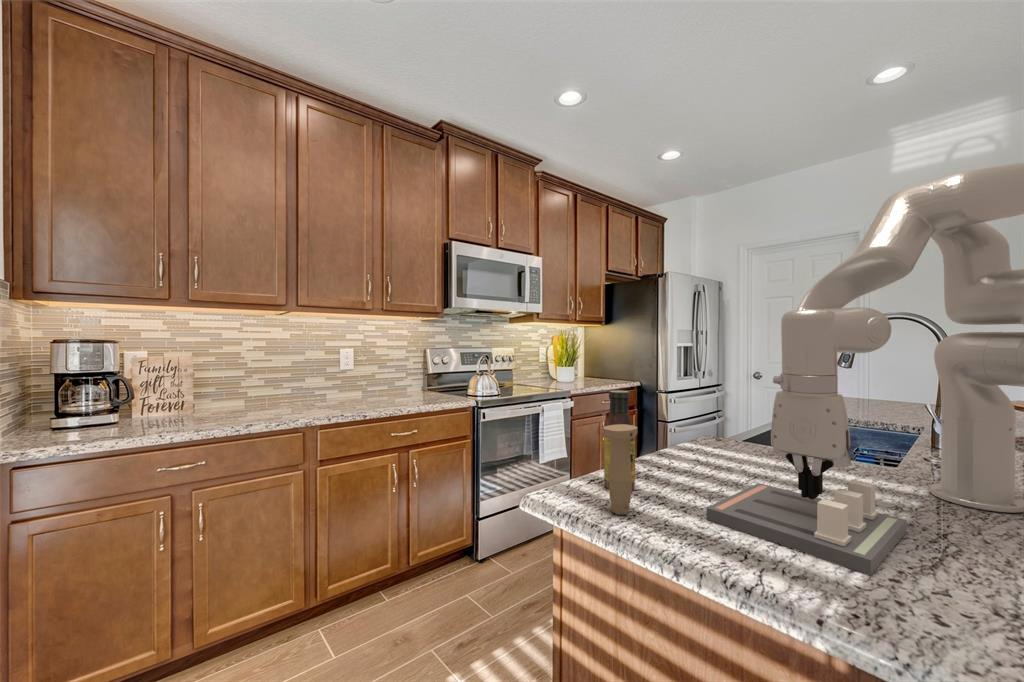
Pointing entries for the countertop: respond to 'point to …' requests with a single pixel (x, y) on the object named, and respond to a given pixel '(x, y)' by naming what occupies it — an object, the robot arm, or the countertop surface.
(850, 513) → the block
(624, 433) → the handle
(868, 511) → the block
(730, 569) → the countertop surface
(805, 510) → the board
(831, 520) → the block
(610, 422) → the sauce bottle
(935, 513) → the countertop surface
